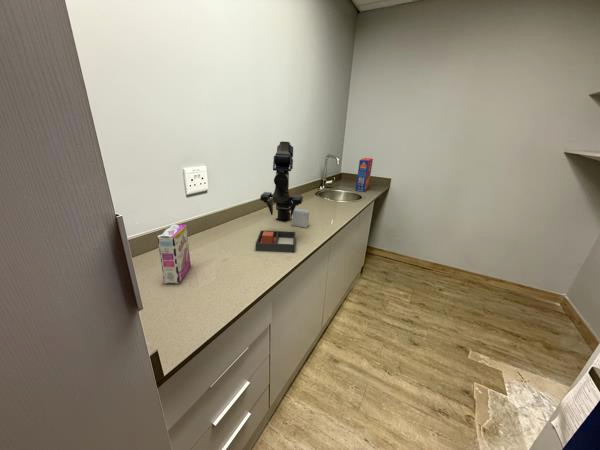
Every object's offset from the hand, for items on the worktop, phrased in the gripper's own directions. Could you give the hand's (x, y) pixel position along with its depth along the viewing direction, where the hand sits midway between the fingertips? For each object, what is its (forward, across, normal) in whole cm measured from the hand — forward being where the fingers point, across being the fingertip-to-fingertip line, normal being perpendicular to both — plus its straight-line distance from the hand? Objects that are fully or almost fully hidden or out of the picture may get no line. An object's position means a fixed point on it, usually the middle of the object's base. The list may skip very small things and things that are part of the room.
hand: (281, 215), depth 113 cm
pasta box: (+13, +50, +134) cm, 144 cm away
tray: (+10, 0, -10) cm, 14 cm away
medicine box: (+11, +7, +17) cm, 21 cm away
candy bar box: (+10, -26, -42) cm, 50 cm away
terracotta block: (+10, -4, -10) cm, 15 cm away
